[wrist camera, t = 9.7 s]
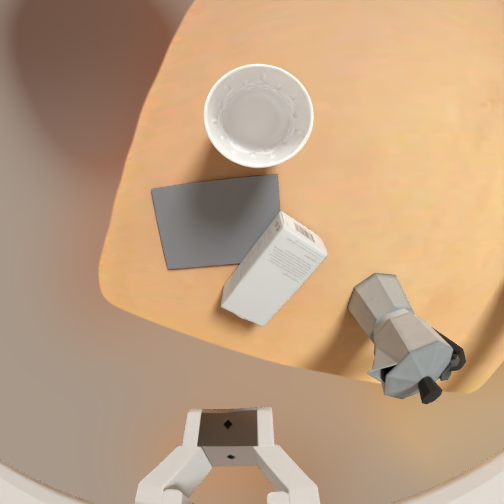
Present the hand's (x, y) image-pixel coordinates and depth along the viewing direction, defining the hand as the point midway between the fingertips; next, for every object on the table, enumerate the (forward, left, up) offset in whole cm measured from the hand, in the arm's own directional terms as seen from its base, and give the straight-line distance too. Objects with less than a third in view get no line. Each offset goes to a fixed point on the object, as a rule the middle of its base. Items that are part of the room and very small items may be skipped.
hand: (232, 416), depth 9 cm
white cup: (-2, -10, -25) cm, 27 cm away
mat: (+3, +1, -25) cm, 25 cm away
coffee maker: (-18, +14, -25) cm, 34 cm away
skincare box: (-7, +2, -22) cm, 23 cm away
